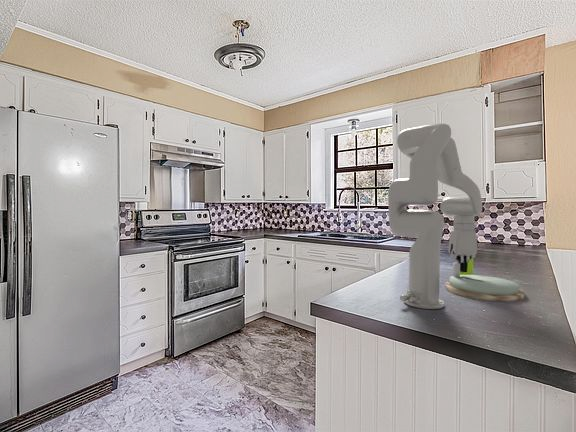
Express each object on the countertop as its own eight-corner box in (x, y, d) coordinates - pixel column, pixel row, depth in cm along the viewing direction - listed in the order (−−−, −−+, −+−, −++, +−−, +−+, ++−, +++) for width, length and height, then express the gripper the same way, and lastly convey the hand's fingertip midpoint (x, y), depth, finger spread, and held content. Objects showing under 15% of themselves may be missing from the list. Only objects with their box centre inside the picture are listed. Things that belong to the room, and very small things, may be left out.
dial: (528, 288, 123) (529, 268, 122) (505, 299, 109) (506, 276, 108) (465, 276, 141) (465, 259, 140) (438, 285, 127) (438, 265, 126)
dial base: (501, 306, 107) (502, 300, 107) (431, 288, 129) (431, 283, 129) (537, 294, 120) (537, 290, 120) (468, 280, 143) (468, 276, 143)
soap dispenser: (468, 274, 153) (469, 232, 152) (475, 278, 146) (476, 234, 145) (455, 274, 154) (456, 232, 153) (461, 277, 147) (462, 233, 146)
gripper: (474, 226, 138) (473, 269, 139) (441, 227, 136) (440, 270, 137) (487, 227, 130) (485, 272, 131) (452, 228, 129) (451, 274, 130)
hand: (462, 271), depth 134 cm, fingers closed
